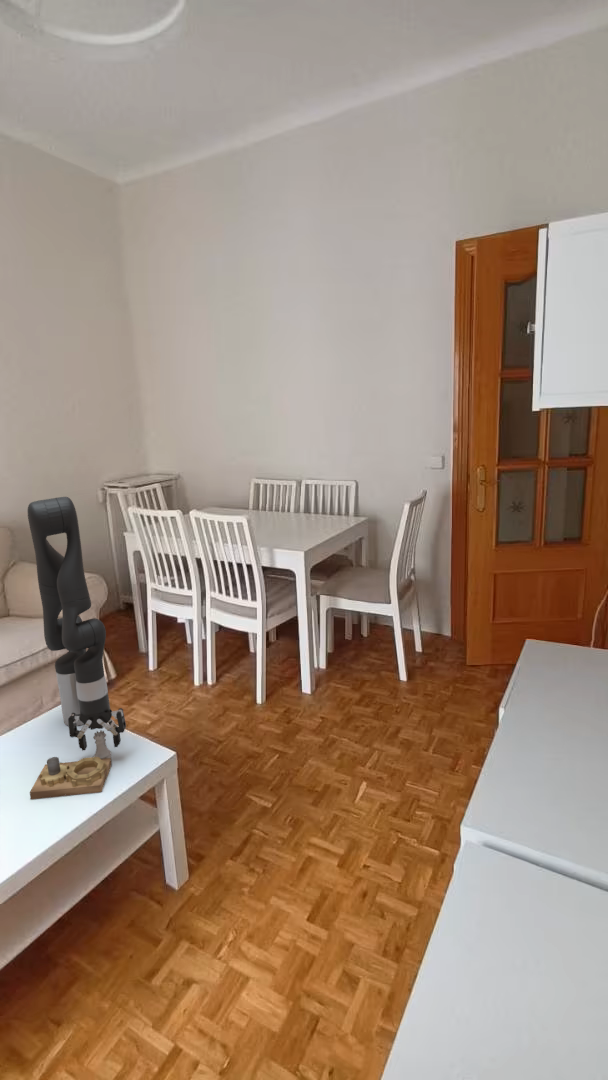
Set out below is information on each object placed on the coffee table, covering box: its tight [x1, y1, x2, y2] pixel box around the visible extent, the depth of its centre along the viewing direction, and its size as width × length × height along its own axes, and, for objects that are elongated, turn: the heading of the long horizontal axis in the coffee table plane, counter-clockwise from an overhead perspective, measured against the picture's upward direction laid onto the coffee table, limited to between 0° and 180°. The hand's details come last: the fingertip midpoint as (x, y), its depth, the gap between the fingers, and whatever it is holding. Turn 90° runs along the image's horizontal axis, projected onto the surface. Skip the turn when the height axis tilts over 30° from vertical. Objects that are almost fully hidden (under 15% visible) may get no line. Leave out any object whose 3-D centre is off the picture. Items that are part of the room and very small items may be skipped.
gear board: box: [29, 756, 113, 800], centre depth 141 cm, size 11×17×7 cm, turn 96°
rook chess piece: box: [93, 729, 112, 759], centre depth 150 cm, size 4×4×8 cm
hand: (100, 747), depth 149 cm, fingers open, 8 cm apart
